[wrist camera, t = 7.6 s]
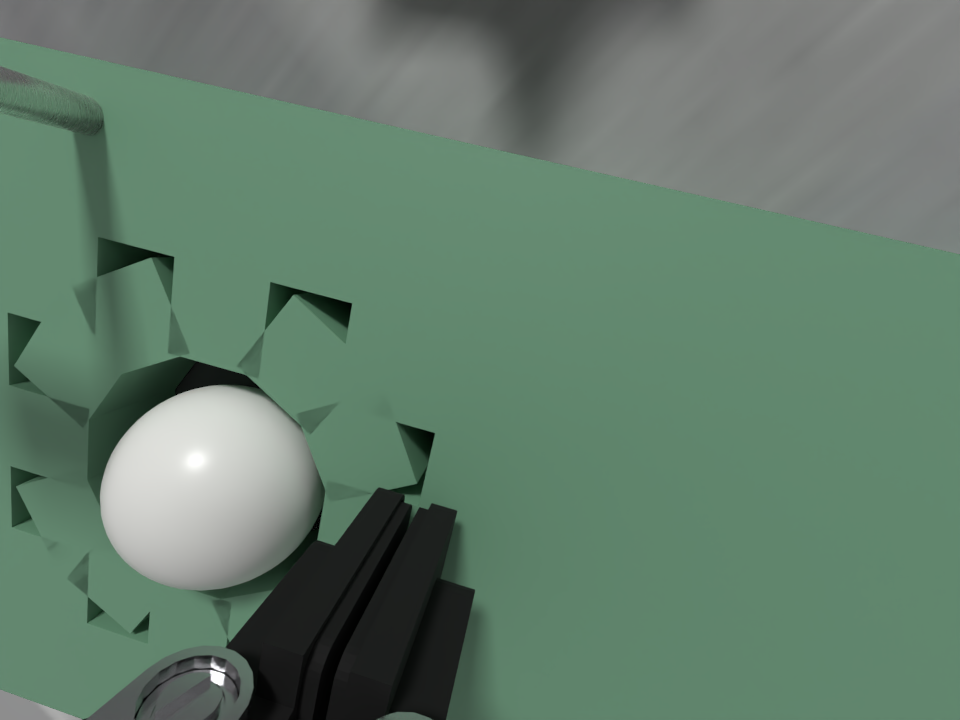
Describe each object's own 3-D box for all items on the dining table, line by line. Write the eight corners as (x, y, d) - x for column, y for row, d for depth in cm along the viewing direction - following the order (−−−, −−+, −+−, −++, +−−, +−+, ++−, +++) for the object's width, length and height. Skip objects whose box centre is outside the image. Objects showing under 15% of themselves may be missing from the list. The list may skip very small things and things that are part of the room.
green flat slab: (1160, 323, 9) (1375, 348, 7) (826, 870, 13) (888, 1009, 11) (75, 74, 11) (-54, 25, 9) (67, 613, 15) (-24, 680, 13)
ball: (180, 464, 7) (63, 368, 9) (159, 687, 8) (60, 555, 10) (381, 411, 11) (266, 351, 13) (350, 569, 12) (248, 490, 14)
